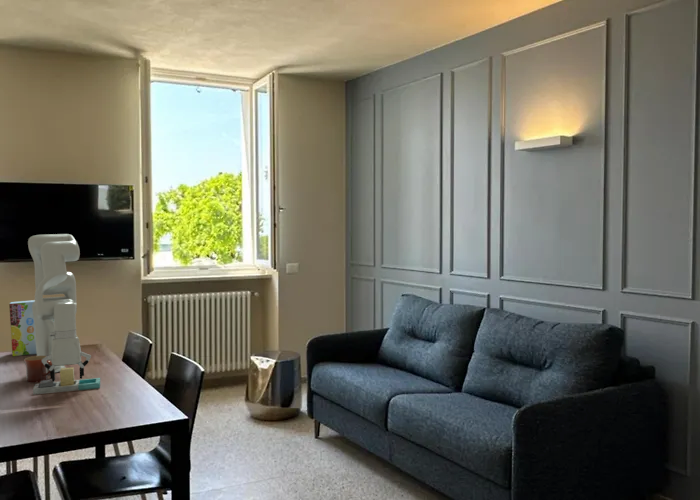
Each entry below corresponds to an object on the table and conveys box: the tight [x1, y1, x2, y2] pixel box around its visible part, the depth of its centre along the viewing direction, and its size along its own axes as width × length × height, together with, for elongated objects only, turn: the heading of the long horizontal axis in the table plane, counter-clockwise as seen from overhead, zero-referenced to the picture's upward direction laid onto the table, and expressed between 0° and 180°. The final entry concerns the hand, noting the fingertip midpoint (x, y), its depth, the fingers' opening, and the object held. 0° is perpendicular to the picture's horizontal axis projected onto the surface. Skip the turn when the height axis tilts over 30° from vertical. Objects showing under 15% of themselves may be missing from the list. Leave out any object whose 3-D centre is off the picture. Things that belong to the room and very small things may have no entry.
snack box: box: [8, 299, 54, 357], centre depth 321 cm, size 22×9×26 cm, turn 114°
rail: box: [32, 377, 101, 396], centre depth 250 cm, size 23×8×3 cm, turn 109°
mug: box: [23, 355, 52, 384], centre depth 262 cm, size 12×9×10 cm
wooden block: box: [59, 366, 75, 386], centre depth 250 cm, size 4×4×8 cm
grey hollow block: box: [39, 379, 55, 388], centre depth 247 cm, size 4×4×4 cm
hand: (67, 379), depth 250 cm, fingers open, 9 cm apart
